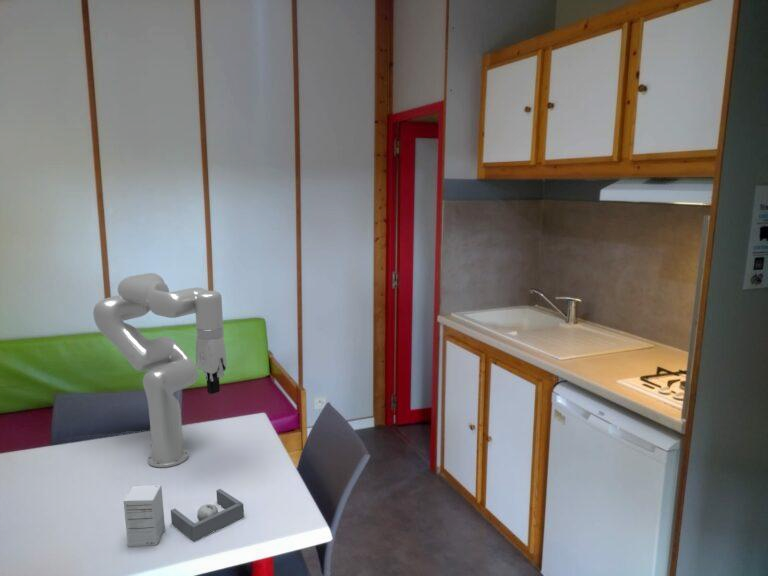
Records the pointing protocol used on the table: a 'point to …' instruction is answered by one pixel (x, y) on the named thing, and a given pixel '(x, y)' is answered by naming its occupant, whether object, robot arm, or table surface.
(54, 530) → the table surface
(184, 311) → the robot arm
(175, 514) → the box
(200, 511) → the garlic
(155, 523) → the supplement box
